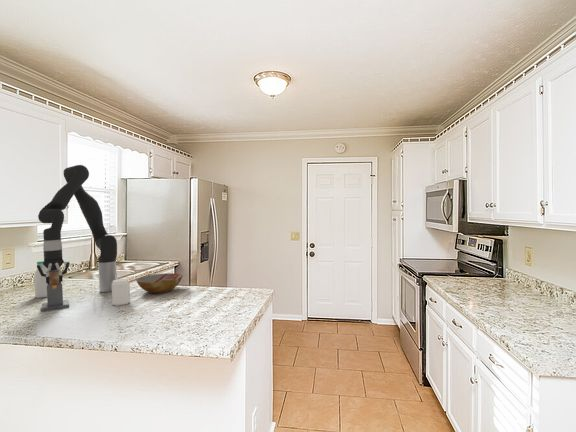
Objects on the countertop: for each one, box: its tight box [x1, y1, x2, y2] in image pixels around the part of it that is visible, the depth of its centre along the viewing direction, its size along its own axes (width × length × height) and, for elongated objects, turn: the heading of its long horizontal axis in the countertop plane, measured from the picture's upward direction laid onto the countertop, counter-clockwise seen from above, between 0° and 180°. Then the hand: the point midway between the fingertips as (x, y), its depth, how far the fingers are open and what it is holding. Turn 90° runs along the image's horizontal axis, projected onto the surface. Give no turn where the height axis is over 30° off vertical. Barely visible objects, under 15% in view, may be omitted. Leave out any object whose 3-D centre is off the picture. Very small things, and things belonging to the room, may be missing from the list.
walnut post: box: [49, 269, 59, 285], centre depth 165 cm, size 4×4×17 cm
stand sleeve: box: [40, 281, 70, 312], centre depth 165 cm, size 11×11×12 cm
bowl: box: [135, 272, 183, 295], centre depth 191 cm, size 25×25×8 cm
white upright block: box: [111, 278, 131, 307], centre depth 167 cm, size 8×8×12 cm
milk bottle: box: [33, 260, 48, 299], centre depth 187 cm, size 8×8×20 cm
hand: (54, 283), depth 165 cm, fingers closed on walnut post, 4 cm apart
